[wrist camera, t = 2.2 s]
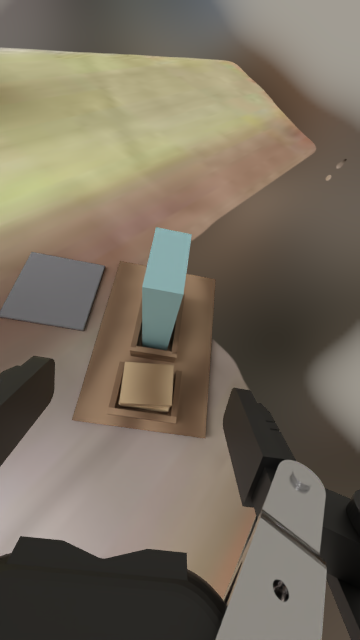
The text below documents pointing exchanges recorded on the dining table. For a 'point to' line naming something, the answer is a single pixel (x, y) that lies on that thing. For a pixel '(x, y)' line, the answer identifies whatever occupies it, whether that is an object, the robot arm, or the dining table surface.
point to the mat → (54, 292)
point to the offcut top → (147, 385)
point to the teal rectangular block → (163, 286)
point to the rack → (151, 358)
